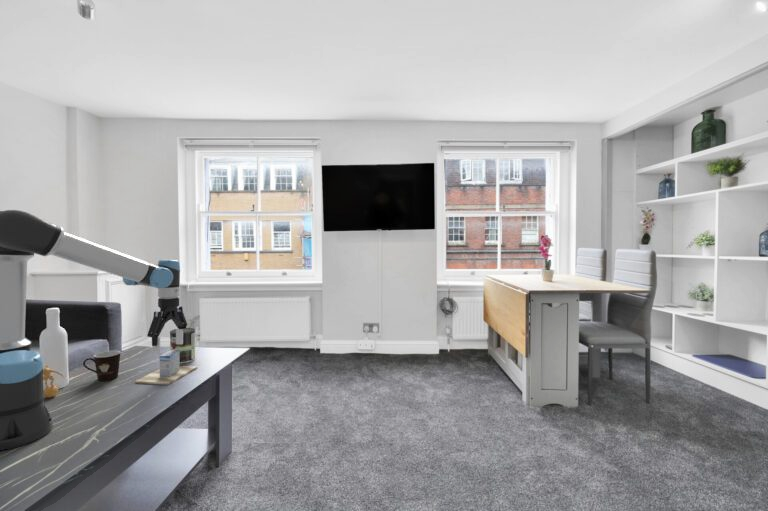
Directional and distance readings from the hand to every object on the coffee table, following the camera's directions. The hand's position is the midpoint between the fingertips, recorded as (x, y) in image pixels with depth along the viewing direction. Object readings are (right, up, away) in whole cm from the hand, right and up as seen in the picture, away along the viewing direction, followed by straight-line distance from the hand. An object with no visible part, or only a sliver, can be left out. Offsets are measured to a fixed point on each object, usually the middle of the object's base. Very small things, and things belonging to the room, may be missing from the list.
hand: (168, 348), depth 148 cm
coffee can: (-5, -11, +20) cm, 23 cm away
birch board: (-1, -11, +1) cm, 11 cm away
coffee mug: (-24, -12, -3) cm, 27 cm away
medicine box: (0, -11, +1) cm, 11 cm away
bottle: (-36, -12, -11) cm, 40 cm away
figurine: (-29, -12, -21) cm, 38 cm away
